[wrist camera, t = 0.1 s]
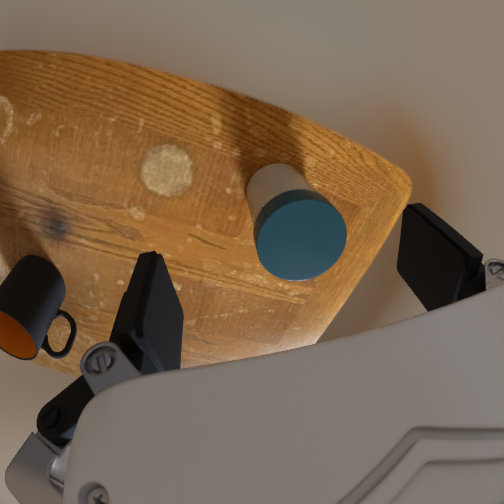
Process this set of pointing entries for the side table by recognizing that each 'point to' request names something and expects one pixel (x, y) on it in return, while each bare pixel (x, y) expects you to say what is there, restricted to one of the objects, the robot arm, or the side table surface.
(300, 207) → the jar lid
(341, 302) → the side table surface
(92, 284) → the side table surface
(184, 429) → the robot arm
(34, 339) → the mug
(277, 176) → the jar
